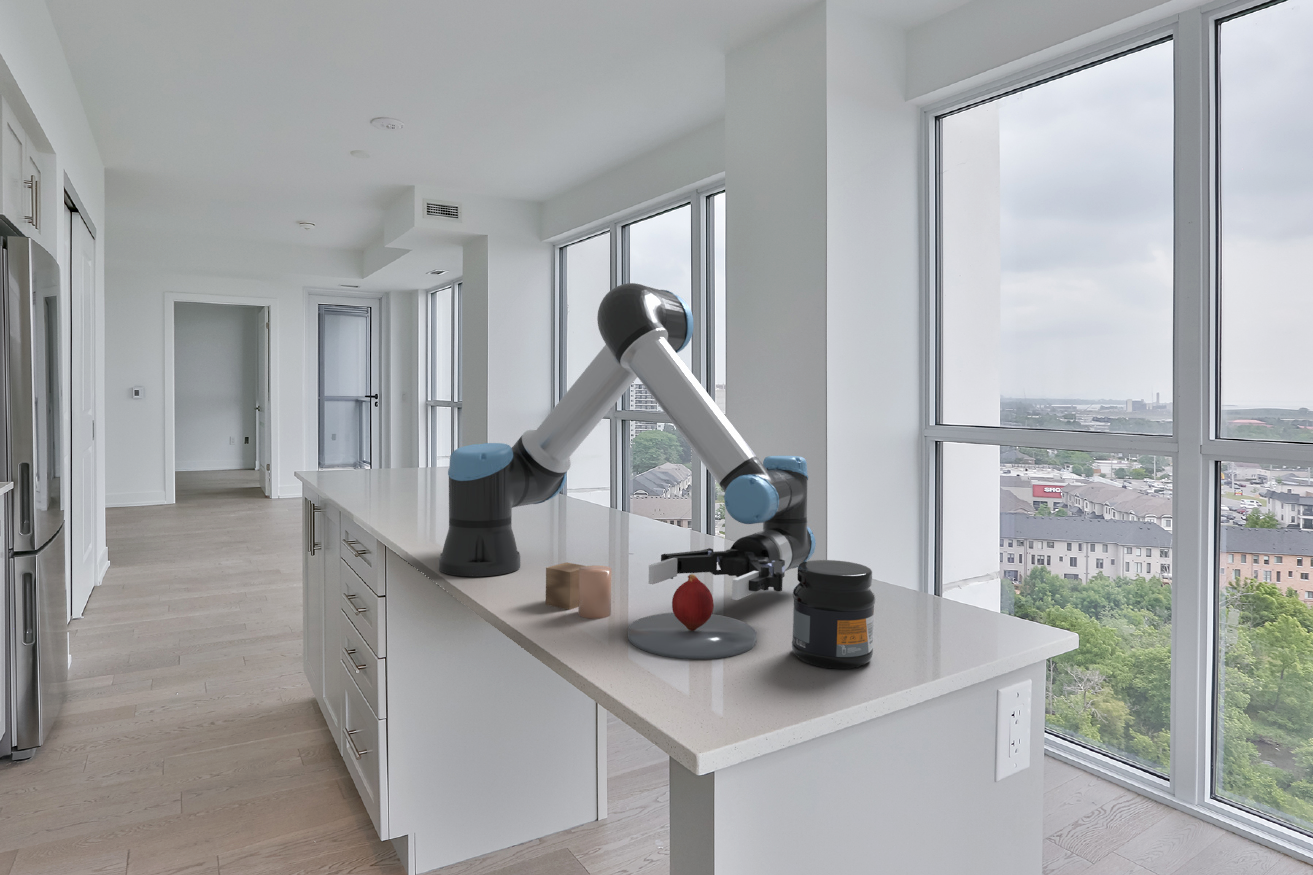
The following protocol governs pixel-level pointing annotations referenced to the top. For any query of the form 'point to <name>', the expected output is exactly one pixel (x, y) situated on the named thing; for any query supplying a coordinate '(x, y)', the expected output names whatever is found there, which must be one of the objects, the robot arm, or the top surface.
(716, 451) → the robot arm
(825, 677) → the top surface
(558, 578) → the walnut block
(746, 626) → the slate plate
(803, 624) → the supplement container
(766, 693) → the top surface
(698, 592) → the red pomegranate
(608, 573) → the cylinder
